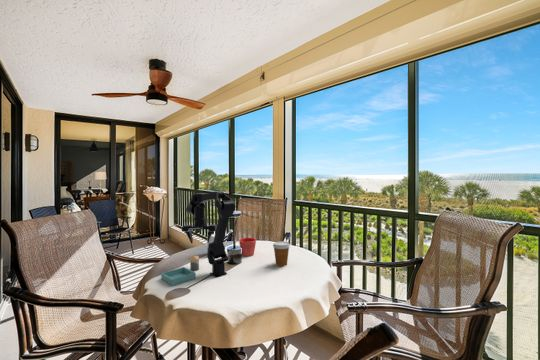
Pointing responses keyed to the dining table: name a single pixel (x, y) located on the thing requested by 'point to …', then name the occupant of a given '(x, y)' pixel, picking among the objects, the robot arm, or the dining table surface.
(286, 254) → the disposable coffee cup
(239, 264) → the dining table surface
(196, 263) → the battery cell
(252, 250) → the flower pot
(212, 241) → the supplement box
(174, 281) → the trough tray
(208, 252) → the robot arm
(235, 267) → the dining table surface
